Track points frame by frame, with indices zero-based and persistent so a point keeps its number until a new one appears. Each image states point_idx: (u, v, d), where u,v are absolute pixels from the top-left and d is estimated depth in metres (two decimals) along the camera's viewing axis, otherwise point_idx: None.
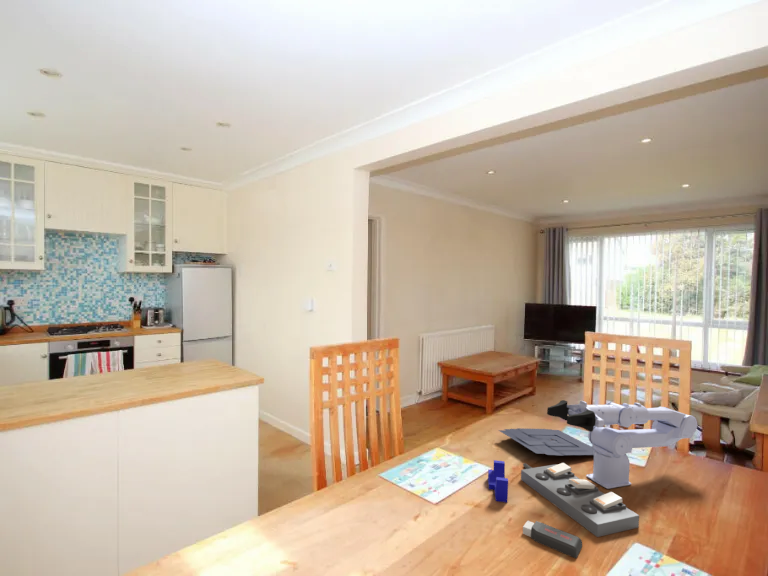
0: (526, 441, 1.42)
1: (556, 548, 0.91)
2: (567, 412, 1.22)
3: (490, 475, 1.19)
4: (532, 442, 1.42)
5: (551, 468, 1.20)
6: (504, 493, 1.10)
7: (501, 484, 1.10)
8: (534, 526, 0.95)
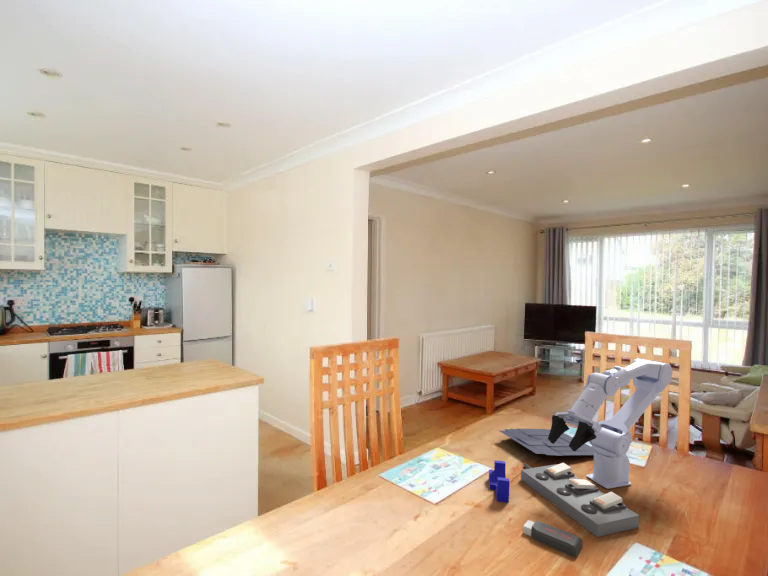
0: (526, 441, 1.42)
1: (556, 547, 0.91)
2: (564, 422, 1.18)
3: (491, 475, 1.19)
4: (532, 442, 1.42)
5: (551, 468, 1.20)
6: (505, 493, 1.10)
7: (502, 484, 1.10)
8: (534, 525, 0.96)
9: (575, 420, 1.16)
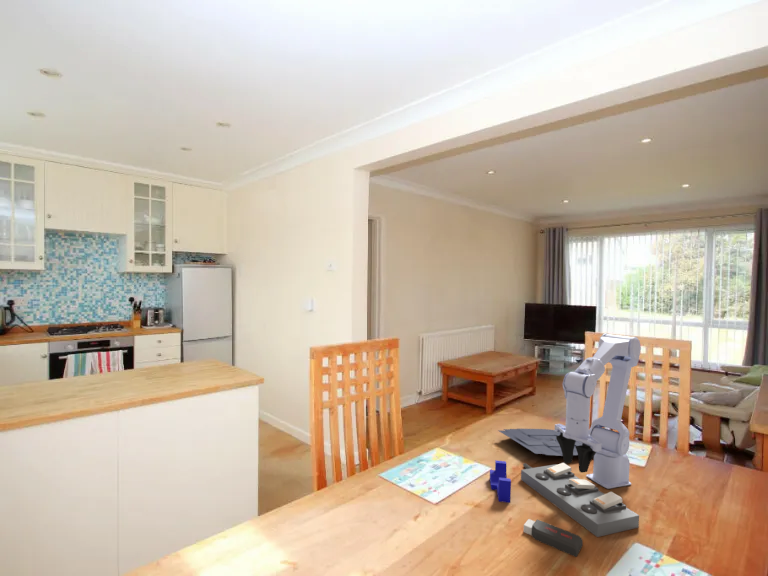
0: (525, 441, 1.42)
1: (556, 546, 0.91)
2: None
3: (492, 475, 1.19)
4: (531, 442, 1.42)
5: (551, 468, 1.20)
6: (507, 493, 1.10)
7: (504, 484, 1.10)
8: (535, 524, 0.96)
9: None
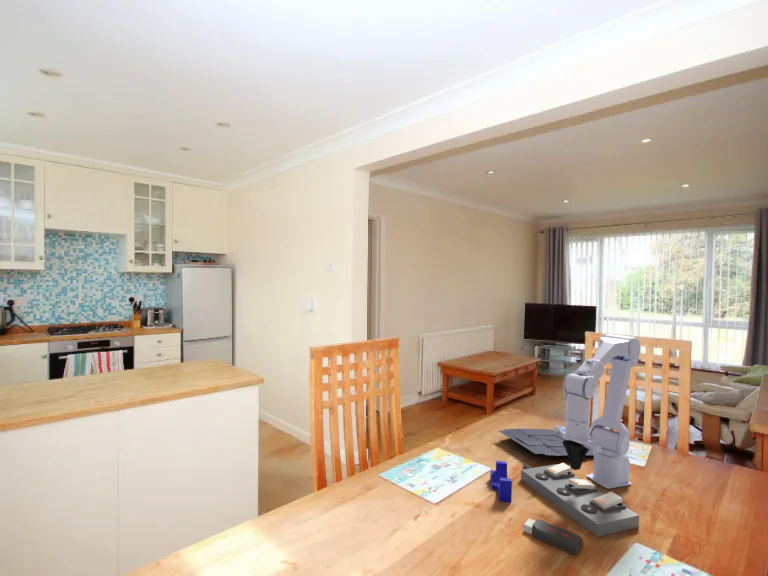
0: (525, 441, 1.42)
1: (556, 546, 0.92)
2: None
3: (493, 476, 1.19)
4: (531, 442, 1.42)
5: (551, 468, 1.20)
6: (508, 494, 1.10)
7: (505, 485, 1.10)
8: (535, 524, 0.96)
9: None
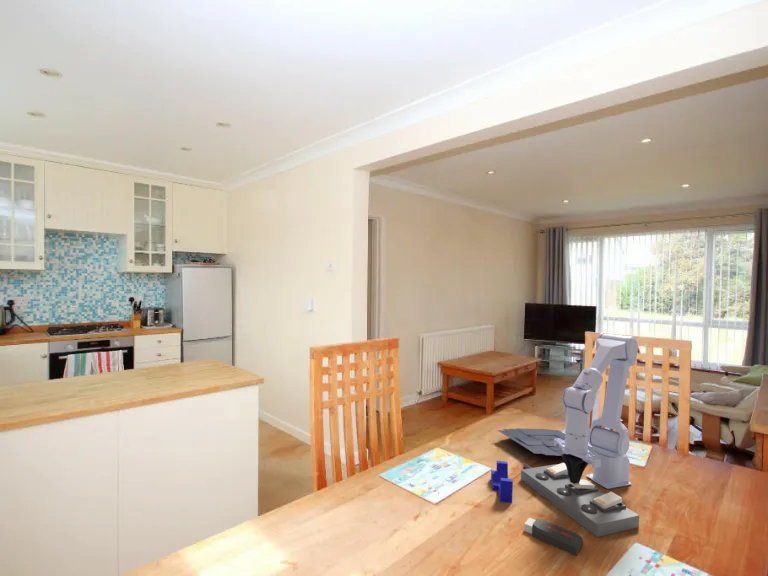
0: (525, 441, 1.42)
1: (556, 545, 0.92)
2: None
3: (493, 476, 1.19)
4: (531, 442, 1.42)
5: (551, 468, 1.20)
6: (509, 494, 1.09)
7: (506, 485, 1.10)
8: (535, 523, 0.96)
9: None
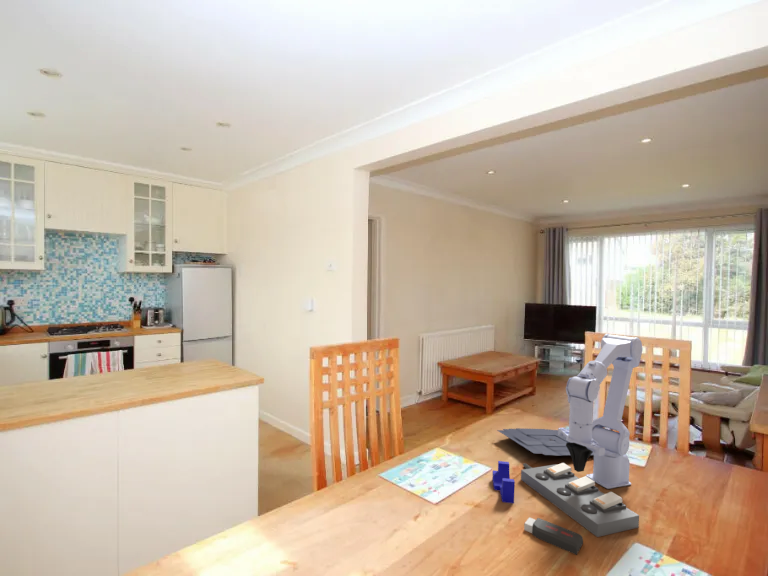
0: (524, 441, 1.42)
1: (557, 544, 0.92)
2: None
3: (495, 476, 1.19)
4: (530, 442, 1.42)
5: (551, 468, 1.20)
6: (510, 494, 1.09)
7: (507, 485, 1.09)
8: (535, 523, 0.97)
9: None
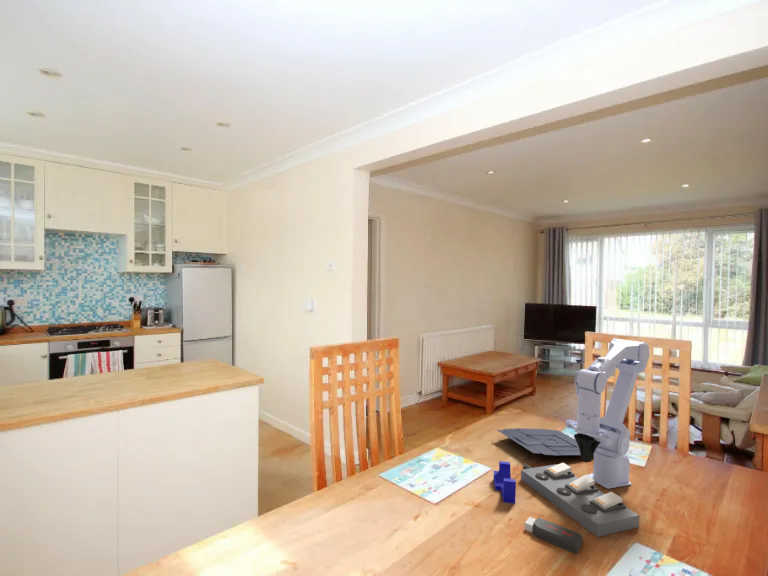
0: (524, 441, 1.42)
1: (557, 544, 0.92)
2: None
3: (496, 476, 1.19)
4: (530, 442, 1.42)
5: (551, 468, 1.20)
6: (512, 494, 1.09)
7: (509, 485, 1.09)
8: (536, 522, 0.97)
9: None
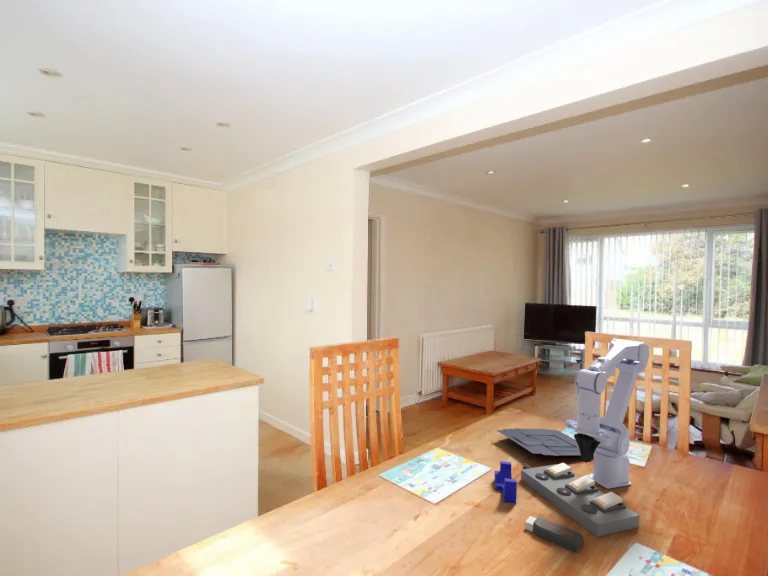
0: (523, 441, 1.42)
1: (557, 543, 0.93)
2: None
3: (497, 476, 1.19)
4: (529, 442, 1.42)
5: (551, 468, 1.20)
6: (513, 494, 1.09)
7: (510, 485, 1.09)
8: (536, 521, 0.97)
9: None
